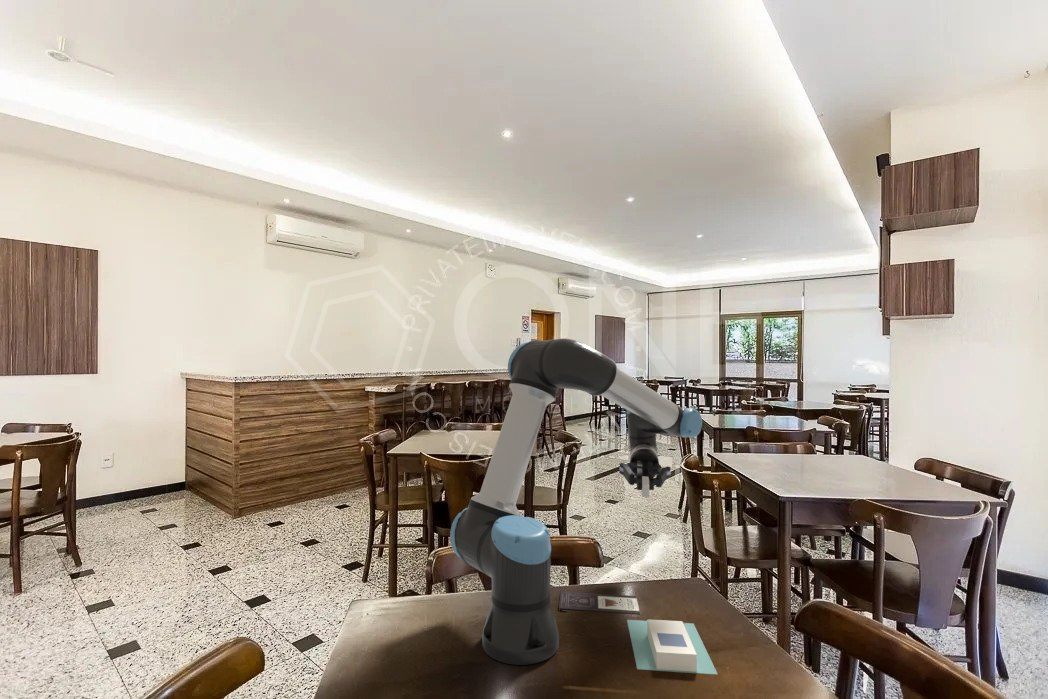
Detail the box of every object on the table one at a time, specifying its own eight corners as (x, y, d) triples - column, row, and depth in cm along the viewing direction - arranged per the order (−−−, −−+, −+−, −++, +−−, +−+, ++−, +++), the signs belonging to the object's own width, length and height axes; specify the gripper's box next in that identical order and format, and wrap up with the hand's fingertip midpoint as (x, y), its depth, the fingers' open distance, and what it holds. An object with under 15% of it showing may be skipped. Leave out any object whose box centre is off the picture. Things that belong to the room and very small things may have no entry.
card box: (647, 634, 100) (656, 669, 88) (647, 619, 101) (656, 651, 89) (682, 636, 100) (696, 672, 88) (682, 621, 100) (696, 654, 88)
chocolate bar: (560, 591, 120) (635, 595, 118) (560, 595, 120) (635, 600, 118) (558, 608, 111) (640, 613, 109) (558, 612, 111) (640, 618, 109)
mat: (637, 671, 89) (637, 669, 89) (626, 621, 106) (626, 619, 106) (717, 676, 87) (717, 674, 87) (693, 625, 105) (693, 623, 105)
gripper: (669, 477, 131) (675, 510, 108) (619, 473, 134) (615, 505, 111) (669, 449, 131) (676, 477, 108) (619, 446, 134) (616, 472, 111)
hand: (645, 491), depth 109 cm, fingers closed
